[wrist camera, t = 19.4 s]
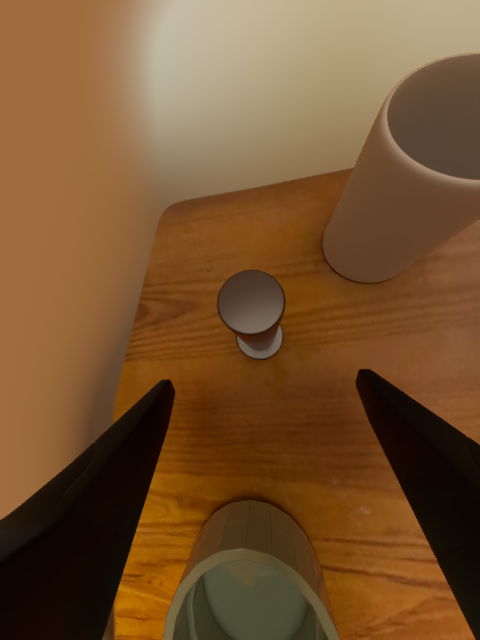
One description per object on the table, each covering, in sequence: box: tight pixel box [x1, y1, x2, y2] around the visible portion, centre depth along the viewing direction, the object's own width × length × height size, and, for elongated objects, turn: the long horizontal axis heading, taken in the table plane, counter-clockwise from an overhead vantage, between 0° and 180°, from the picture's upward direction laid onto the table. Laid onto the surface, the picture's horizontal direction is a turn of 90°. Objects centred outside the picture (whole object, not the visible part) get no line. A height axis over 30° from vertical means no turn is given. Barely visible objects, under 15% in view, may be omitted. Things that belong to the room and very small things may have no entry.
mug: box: [322, 53, 480, 283], centre depth 15 cm, size 12×8×11 cm
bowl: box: [163, 500, 339, 640], centre depth 13 cm, size 10×10×5 cm
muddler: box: [217, 270, 286, 360], centre depth 13 cm, size 4×4×12 cm
